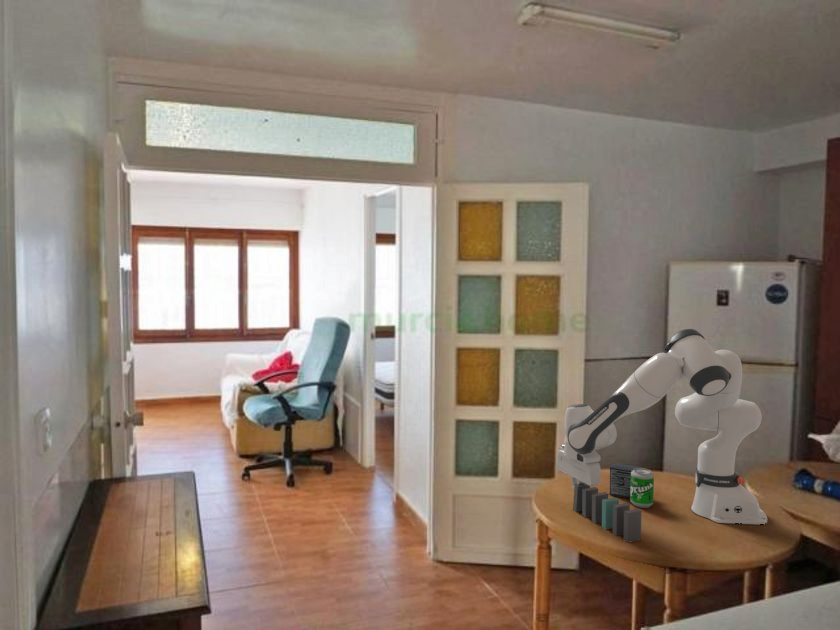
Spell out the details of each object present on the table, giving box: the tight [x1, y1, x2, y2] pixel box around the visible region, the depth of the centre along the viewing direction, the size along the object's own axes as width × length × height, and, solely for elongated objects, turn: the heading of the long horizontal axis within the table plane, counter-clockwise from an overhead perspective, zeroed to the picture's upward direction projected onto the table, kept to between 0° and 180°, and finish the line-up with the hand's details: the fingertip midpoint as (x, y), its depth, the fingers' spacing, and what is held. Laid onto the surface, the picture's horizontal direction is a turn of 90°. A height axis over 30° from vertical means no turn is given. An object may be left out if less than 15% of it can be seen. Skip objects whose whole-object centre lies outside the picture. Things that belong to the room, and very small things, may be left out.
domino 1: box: [572, 483, 591, 513], centre depth 204 cm, size 2×5×9 cm, turn 112°
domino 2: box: [581, 486, 599, 518], centre depth 200 cm, size 2×5×9 cm, turn 112°
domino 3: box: [591, 491, 609, 524], centre depth 195 cm, size 2×5×9 cm, turn 112°
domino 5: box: [612, 502, 631, 537], centre depth 186 cm, size 2×5×9 cm, turn 112°
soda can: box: [629, 467, 655, 509], centre depth 209 cm, size 8×8×12 cm
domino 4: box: [601, 496, 620, 530], centre depth 191 cm, size 2×5×9 cm, turn 112°
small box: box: [608, 463, 644, 500], centre depth 218 cm, size 11×6×10 cm, turn 58°
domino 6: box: [623, 508, 642, 543], centre depth 181 cm, size 2×5×9 cm, turn 112°
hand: (577, 490), depth 207 cm, fingers closed
